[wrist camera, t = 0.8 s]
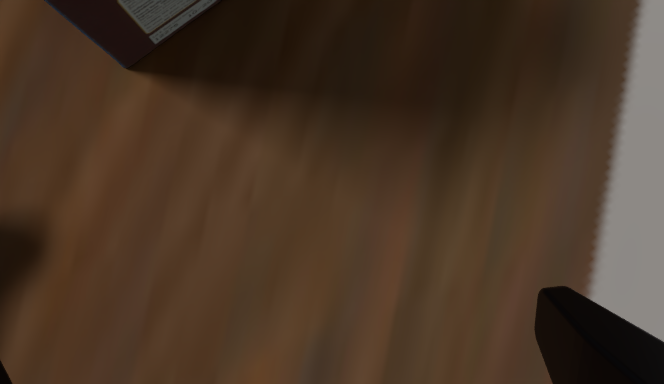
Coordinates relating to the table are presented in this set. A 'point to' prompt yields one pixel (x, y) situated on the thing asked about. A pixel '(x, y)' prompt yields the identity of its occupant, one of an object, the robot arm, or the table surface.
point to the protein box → (130, 23)
